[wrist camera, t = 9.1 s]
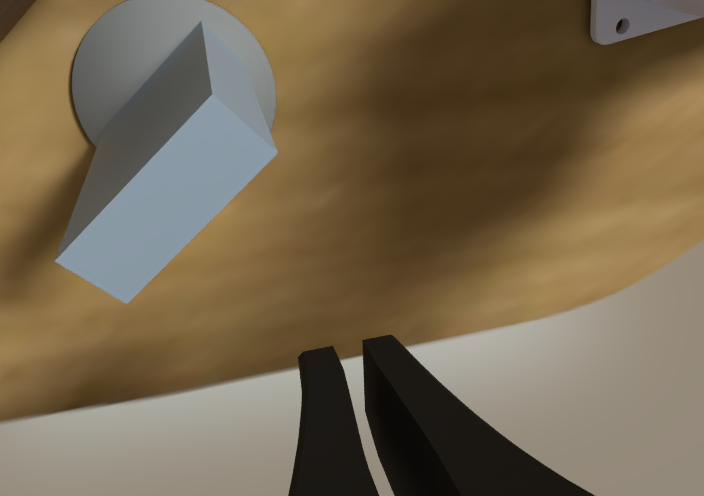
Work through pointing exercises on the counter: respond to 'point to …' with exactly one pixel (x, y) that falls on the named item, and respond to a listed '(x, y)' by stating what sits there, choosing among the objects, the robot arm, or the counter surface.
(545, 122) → the counter surface
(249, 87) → the domino head
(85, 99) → the disc
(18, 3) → the domino
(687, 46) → the counter surface
